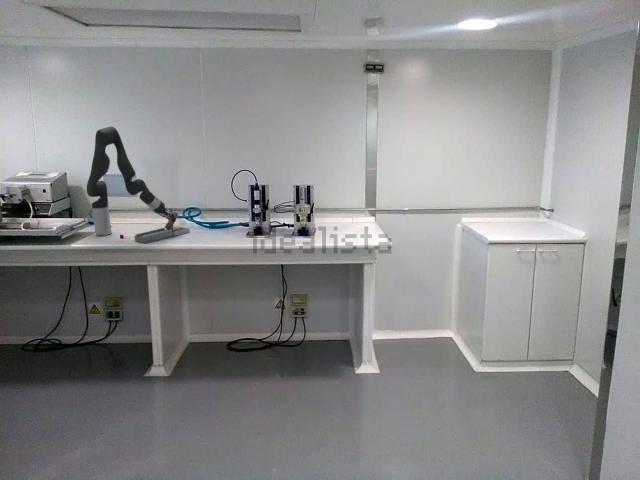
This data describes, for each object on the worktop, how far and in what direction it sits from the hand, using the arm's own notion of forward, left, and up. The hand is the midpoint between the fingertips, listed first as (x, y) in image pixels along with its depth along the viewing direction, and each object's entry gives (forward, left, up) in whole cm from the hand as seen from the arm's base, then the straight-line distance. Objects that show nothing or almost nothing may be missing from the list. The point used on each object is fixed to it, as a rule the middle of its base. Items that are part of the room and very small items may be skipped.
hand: (173, 220), depth 305 cm
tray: (-1, +1, -8) cm, 8 cm away
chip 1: (+2, -2, -6) cm, 6 cm away
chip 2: (-1, +2, -5) cm, 5 cm away
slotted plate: (+8, -12, -8) cm, 17 cm away
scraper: (+3, -4, -4) cm, 6 cm away
